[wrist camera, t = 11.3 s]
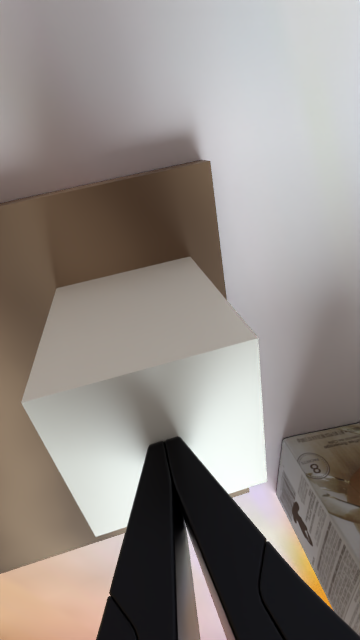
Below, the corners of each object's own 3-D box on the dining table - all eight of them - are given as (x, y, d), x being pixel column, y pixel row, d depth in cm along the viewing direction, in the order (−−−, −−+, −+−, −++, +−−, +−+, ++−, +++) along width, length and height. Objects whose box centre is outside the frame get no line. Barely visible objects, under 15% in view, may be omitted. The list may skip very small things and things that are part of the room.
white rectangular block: (97, 392, 15) (95, 536, 10) (56, 288, 13) (21, 402, 7) (207, 361, 16) (267, 481, 10) (190, 256, 13) (258, 337, 8)
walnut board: (-25, 562, 21) (-31, 584, 20) (-311, 270, 11) (-354, 282, 10) (242, 476, 23) (249, 491, 22) (201, 160, 13) (210, 160, 12)
